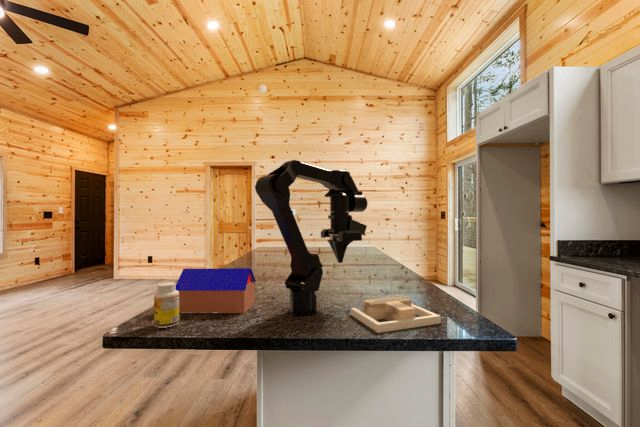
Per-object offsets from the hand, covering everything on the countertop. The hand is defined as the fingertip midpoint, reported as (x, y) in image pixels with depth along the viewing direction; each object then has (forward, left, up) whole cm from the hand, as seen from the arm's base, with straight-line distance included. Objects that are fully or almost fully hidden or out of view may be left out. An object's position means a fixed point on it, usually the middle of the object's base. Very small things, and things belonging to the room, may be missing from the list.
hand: (340, 262), depth 98 cm
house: (-36, +8, -12) cm, 39 cm away
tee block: (+6, -20, -12) cm, 25 cm away
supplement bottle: (-48, -4, -12) cm, 50 cm away
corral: (+6, -20, -12) cm, 24 cm away
